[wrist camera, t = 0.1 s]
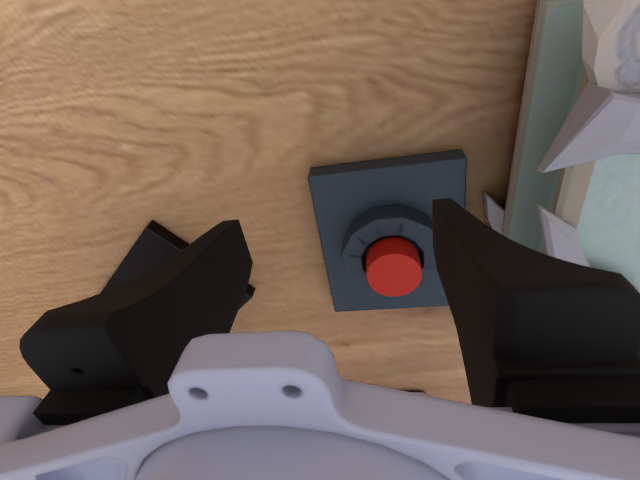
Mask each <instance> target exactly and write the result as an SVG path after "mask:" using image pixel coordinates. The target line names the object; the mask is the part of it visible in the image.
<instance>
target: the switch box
mask: <svg viewBox="0 0 640 480" xmlns="http://www.w3.org/2000/svg"><path fill="white" fill-rule="evenodd" d="M466 166H467V158H466V156H465V154H464V153H463V151H462V150H461V149H460V150H452V151H444V152H435V153H427V154H419V155H411V156H403V157H395V158H387V159H379V160H371V161H363V162H354V163H346V164H338V165H330V166H322V167H314V168H310V172H309V175H308V181H309V186H310V191H311V196H312V201H313V206H314V211H315V216H316V220H317V225H318V230H319V235H320V240H321V245H322V250H323V255H324V260H325V265H326V270H327V275H328V280H329V285H330V290H331V294H332V299H333V304H334V309H335V312H340V311H358V310H376V309H394V308H412V307H429V306H447V305H449V304H448V301H447V298H446V295H445V292H444V289H443V286H442V283H441V280H440V277H439V274H438V271H437V267H436V262H435V257H434V251H433V219H432V200H434V199H444V198H451V199H453V200H454V201H455V202H456V203H458V204H459V205H460V206H461V207H463V208H464V209H465V192H466ZM389 237H398V238H402V239H405V240H407V241H409V242H411V243H412V244H413V245H414V246H415V247H416V249H417V251H418V254H419V259H420V264H421V269H422V279H421V282H420V283H419V285H418V286H417V287H416V288H415V289H414V290H413V291H412V292H410V293H408V294H405V295H402V296H393V297H392V296H385V295H382V294H379V293H378V292H376V291H375V290H373V289H372V288H371V287H370V285H369V284H368V281H367V278H366V256H367V252H368V250H369V249H370V247H371V246H372V245H373V244H374V243H376V242H377V241H379V240H381V239H384V238H389Z"/></svg>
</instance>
